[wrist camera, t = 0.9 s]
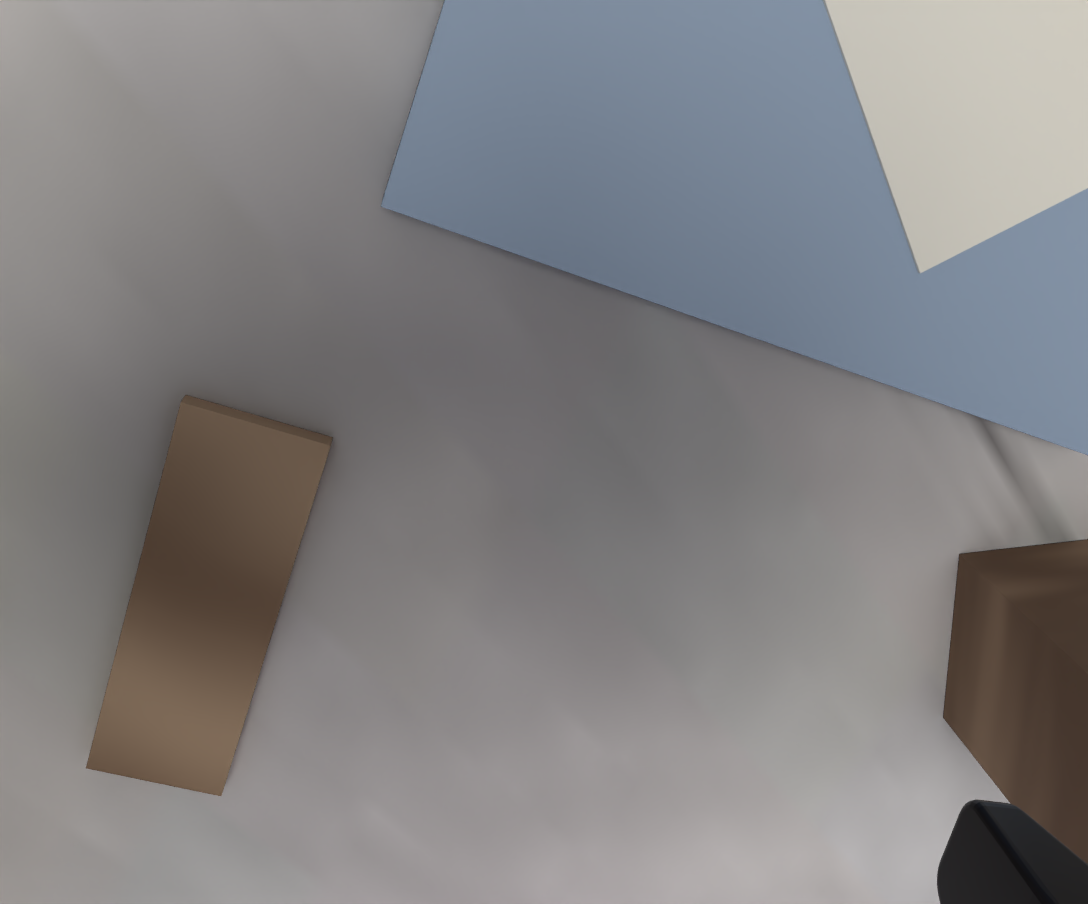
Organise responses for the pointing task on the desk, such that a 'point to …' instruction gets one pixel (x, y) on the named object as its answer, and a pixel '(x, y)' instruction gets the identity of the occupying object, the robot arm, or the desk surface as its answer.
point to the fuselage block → (1026, 679)
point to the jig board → (789, 176)
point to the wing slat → (206, 595)
